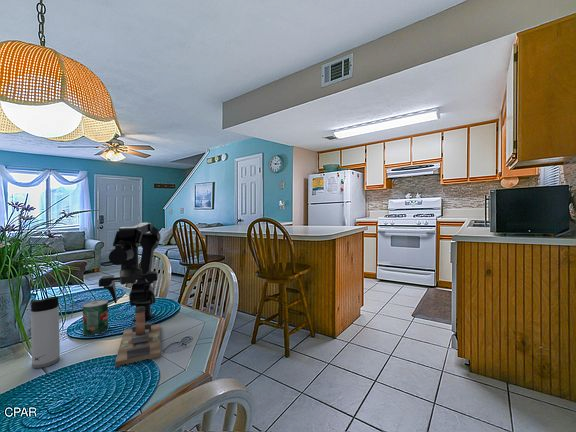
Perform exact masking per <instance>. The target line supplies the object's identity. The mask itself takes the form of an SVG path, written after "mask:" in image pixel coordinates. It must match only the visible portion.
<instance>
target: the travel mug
mask: <svg viewBox="0 0 576 432" xmlns="http://www.w3.org/2000/svg"><path fill="white" fill-rule="evenodd" d="M30 334H31V337H30V338H31V339H30V340H31V367H32V368H34V369H43V368H47V367H49V366H52V365H54V364H56V363H58V362H59V360H60V359H61V355H60V352H61V351H60V350H61V349H60V348H61V347H60V306H59V296H49V297H46V298H42V299H35V300H32V301H30Z"/></svg>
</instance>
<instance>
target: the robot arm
mask: <svg viewBox="0 0 576 432" xmlns="http://www.w3.org/2000/svg"><path fill="white" fill-rule="evenodd" d="M160 242H161V233H160V230H159V229H157V227H155V226H154V225H153V223H151V222H140V223H138V224H135V225H134V226H120V227H118V230H116V233H115V237H114V239H113V242H112V246H113V247H114V249H112V250H111V251H110V253H109V255H108V260H109V262H110V263H111V264H112V265H115V266H120V270H119V276H115V275H114V274H112V275H111V274H110V275H109V274H108V275H102V276H101V277H100V278H99V280H98V287H99V288H102V287H103V289H106V290H108V292H109V293H110V295H111V297H112V300H113V301H114V304H117V303H118V295H117V287H116V283H120V285H127V284H131V290H130V292H129V296H128V297H129V298H128V299H129V303H130V306H131V307H134V306H135V308H136V307H140V306H144V307H145V321H149V320H150V319H151V318H152V317H153V316H154V315H155V313H152V311H151V310H152V306H151V305H153V304H156V294H155V292H154V290H153V286H152V284H154V283H155V282H156V281H158V279H159V278H158V271H156V270H153V271H152V266H153V261H154V260H153V258H154V253H155V252H154V251H155V250H156V249H157V248H158V246H159V244H160ZM139 245H140V246H141V248H142V252H141V257H140V263H139ZM150 317H151V318H150ZM149 318H150V319H149ZM133 319H134V320H135V317H134V318H132V319H131V321H132V320H133ZM148 319H149V320H148Z"/></svg>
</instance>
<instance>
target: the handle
mask: <svg viewBox="0 0 576 432" xmlns="http://www.w3.org/2000/svg"><path fill="white" fill-rule="evenodd" d="M134 315H135V317H134V318H135V320H136V321H135V325H136V332H133V333H132V338H131V344H134V343H139V342H144V341H149V329H148V330H145V323H146V320H145V307H144V306H140V307H136V306H135V308H134Z"/></svg>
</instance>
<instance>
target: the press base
mask: <svg viewBox="0 0 576 432" xmlns="http://www.w3.org/2000/svg"><path fill="white" fill-rule="evenodd" d="M148 329H149V341H144V342H139V343H134V344H131V338H132V333H133V332H136V324H132V328H127V329H124V330H123V334H122V337H121V340H120V344H119V348H118V351H117V355H116V358H115V361H114V364H115V365H114V368H119V367H121V366H120V365H123V366H125V365H124V364H127V365H130V364H129V363H132V364H134V363H133V362H136V361H140V360H145V359H149V360H153V359H158V358H161V324H160V323H157V324H152V322H145V330H148ZM145 361H146V360H145ZM140 362H141V361H140ZM136 363H137V362H136Z"/></svg>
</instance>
